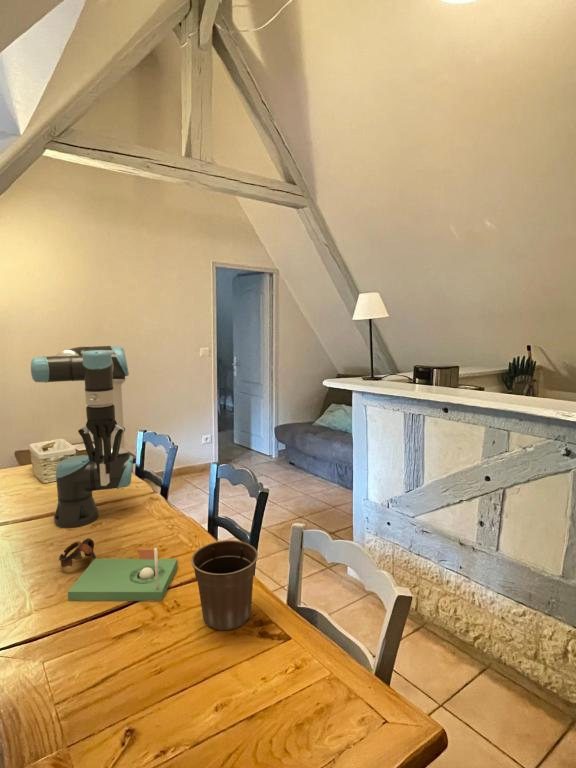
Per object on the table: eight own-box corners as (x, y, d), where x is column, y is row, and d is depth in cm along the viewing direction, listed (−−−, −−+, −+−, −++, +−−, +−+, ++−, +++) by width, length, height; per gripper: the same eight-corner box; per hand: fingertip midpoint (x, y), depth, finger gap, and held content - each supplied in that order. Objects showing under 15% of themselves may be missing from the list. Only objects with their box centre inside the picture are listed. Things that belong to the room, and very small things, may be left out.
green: (68, 600, 122) (67, 591, 122) (95, 566, 139) (94, 558, 139) (161, 600, 122) (161, 592, 122) (177, 566, 139) (177, 558, 139)
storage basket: (30, 472, 225) (27, 443, 223) (65, 465, 235) (63, 437, 233) (41, 485, 207) (38, 454, 205) (79, 477, 217) (76, 447, 215)
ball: (139, 584, 131) (142, 570, 134) (153, 584, 131) (156, 570, 134) (136, 579, 128) (139, 565, 131) (150, 579, 128) (153, 565, 131)
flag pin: (142, 596, 124) (139, 547, 122) (159, 596, 124) (157, 547, 122) (141, 598, 123) (138, 549, 121) (159, 598, 123) (156, 549, 121)
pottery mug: (92, 575, 136) (75, 555, 133) (67, 585, 138) (49, 566, 135) (108, 545, 147) (92, 527, 144) (84, 556, 149) (68, 538, 146)
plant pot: (204, 646, 105) (202, 580, 103) (185, 607, 119) (183, 549, 117) (269, 624, 113) (268, 562, 110) (244, 590, 127) (243, 535, 125)
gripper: (71, 407, 127) (77, 488, 131) (118, 407, 127) (122, 488, 131) (83, 402, 135) (88, 479, 138) (127, 402, 135) (131, 479, 138)
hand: (105, 483), depth 134 cm, fingers closed
